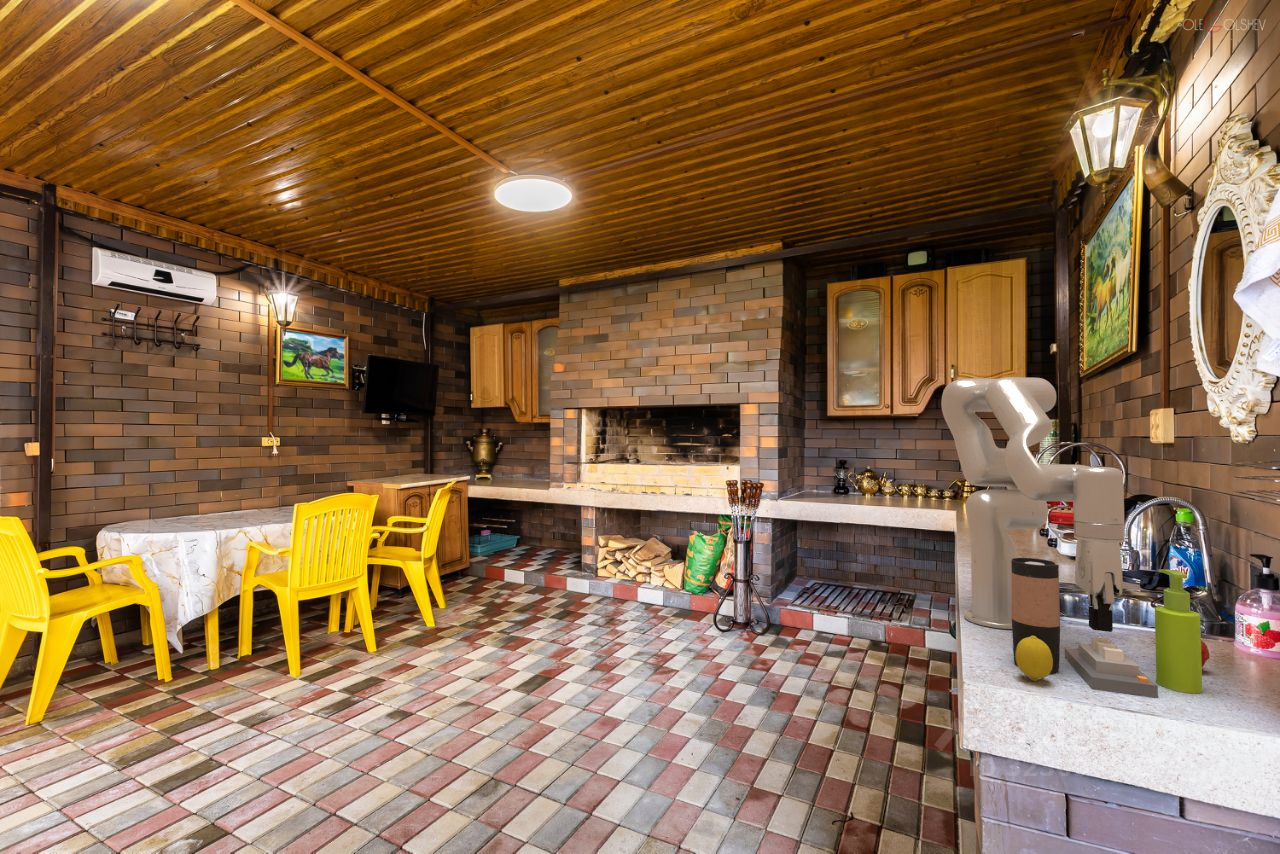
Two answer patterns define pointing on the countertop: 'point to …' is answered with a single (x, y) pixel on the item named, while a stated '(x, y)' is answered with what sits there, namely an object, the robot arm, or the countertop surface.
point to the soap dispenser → (1178, 639)
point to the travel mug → (1036, 604)
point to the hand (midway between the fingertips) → (1100, 629)
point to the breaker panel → (1110, 679)
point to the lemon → (1034, 658)
